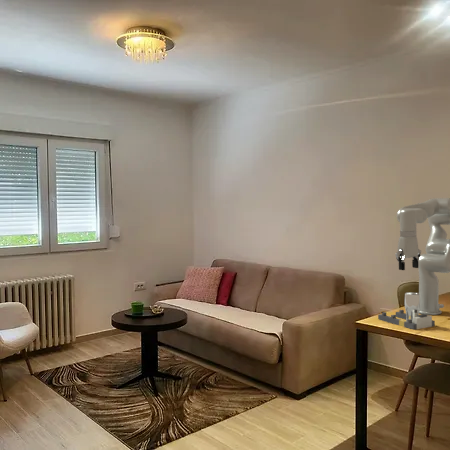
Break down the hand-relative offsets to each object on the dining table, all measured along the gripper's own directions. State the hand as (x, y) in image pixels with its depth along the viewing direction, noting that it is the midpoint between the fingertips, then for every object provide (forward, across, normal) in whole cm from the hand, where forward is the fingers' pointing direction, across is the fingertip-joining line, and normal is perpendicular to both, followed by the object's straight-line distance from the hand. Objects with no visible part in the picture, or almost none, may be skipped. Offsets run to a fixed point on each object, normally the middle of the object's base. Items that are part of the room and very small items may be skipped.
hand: (408, 268), depth 223 cm
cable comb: (+26, +5, +2) cm, 26 cm away
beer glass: (+26, +5, +6) cm, 27 cm away
